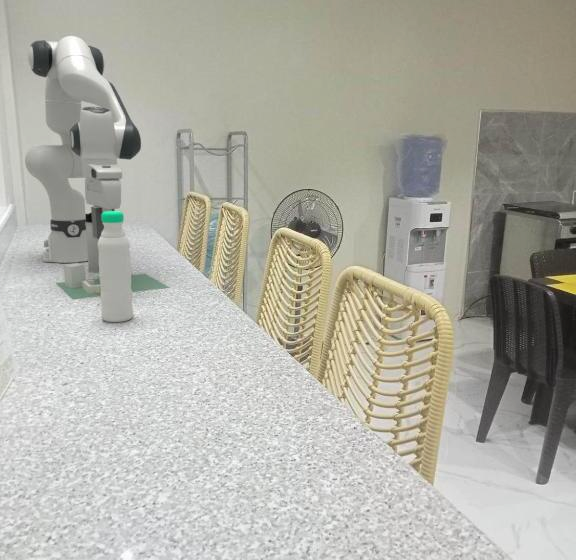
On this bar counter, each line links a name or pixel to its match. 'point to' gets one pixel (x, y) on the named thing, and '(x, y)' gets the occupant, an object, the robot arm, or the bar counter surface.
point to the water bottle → (115, 269)
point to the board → (94, 288)
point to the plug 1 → (74, 275)
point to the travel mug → (92, 246)
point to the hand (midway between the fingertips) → (103, 223)
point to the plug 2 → (97, 221)
